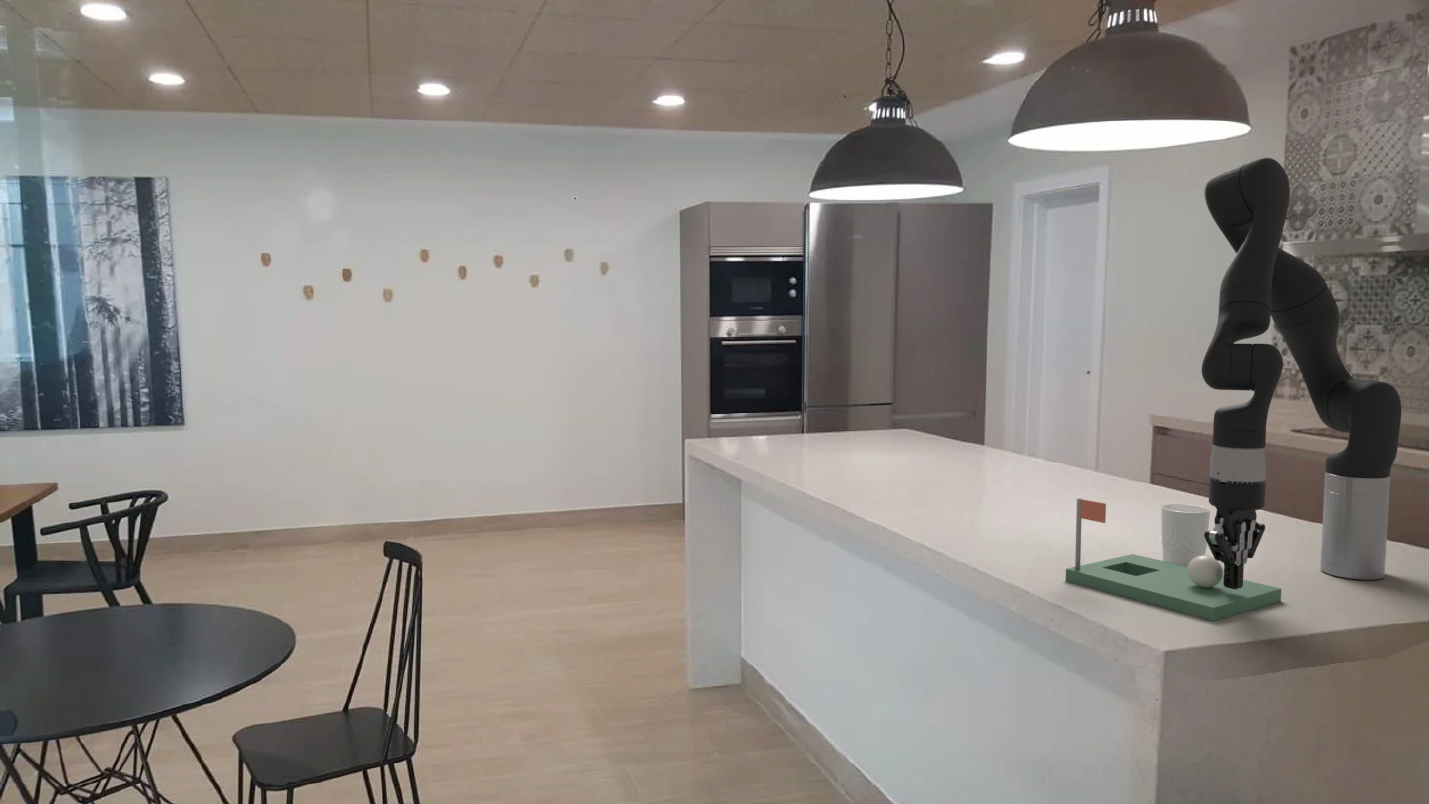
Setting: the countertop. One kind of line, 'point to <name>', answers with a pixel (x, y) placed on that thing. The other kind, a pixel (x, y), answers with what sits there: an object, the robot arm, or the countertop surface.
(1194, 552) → the white cup
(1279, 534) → the countertop surface
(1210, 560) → the ball
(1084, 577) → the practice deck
